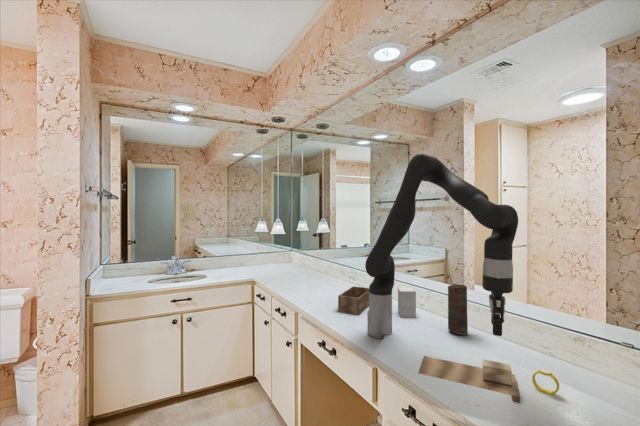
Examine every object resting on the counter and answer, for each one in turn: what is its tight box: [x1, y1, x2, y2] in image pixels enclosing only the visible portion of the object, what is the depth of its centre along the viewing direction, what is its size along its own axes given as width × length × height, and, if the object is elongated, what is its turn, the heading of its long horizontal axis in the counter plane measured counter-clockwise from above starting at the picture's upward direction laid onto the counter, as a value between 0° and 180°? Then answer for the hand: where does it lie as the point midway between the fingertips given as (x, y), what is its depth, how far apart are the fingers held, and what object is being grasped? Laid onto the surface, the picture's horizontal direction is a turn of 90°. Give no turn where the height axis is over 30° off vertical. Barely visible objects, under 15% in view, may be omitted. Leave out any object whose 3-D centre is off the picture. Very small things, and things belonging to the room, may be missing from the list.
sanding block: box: [482, 359, 513, 387], centre depth 88 cm, size 7×4×4 cm, turn 63°
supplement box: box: [397, 286, 417, 319], centre depth 146 cm, size 7×7×13 cm
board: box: [418, 355, 521, 403], centre depth 91 cm, size 26×12×2 cm, turn 63°
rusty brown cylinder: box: [447, 283, 469, 336], centre depth 125 cm, size 8×7×20 cm
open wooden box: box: [337, 285, 369, 316], centre depth 158 cm, size 11×21×8 cm, turn 153°
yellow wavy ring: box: [531, 368, 560, 395], centre depth 85 cm, size 6×3×6 cm, turn 42°
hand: (496, 329), depth 87 cm, fingers open, 8 cm apart
